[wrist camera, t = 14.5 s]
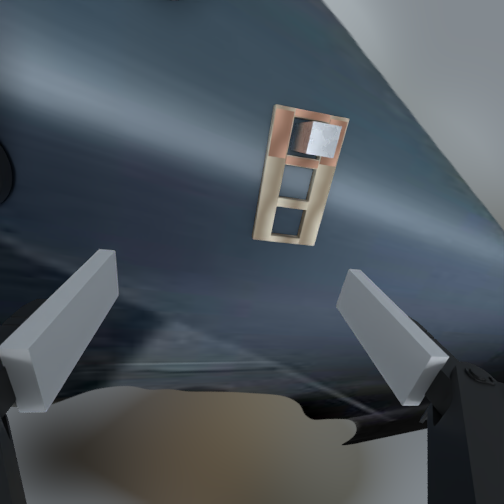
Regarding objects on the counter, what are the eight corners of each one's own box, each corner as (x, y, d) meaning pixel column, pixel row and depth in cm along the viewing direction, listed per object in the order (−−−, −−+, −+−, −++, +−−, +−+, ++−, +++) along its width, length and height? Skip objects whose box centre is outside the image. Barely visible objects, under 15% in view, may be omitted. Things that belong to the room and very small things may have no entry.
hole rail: (251, 236, 48) (252, 239, 47) (273, 105, 40) (276, 104, 38) (311, 242, 50) (314, 246, 49) (344, 119, 41) (349, 118, 40)
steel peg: (289, 149, 43) (306, 153, 34) (295, 123, 41) (313, 121, 33) (312, 153, 43) (333, 158, 35) (318, 127, 42) (342, 126, 34)
